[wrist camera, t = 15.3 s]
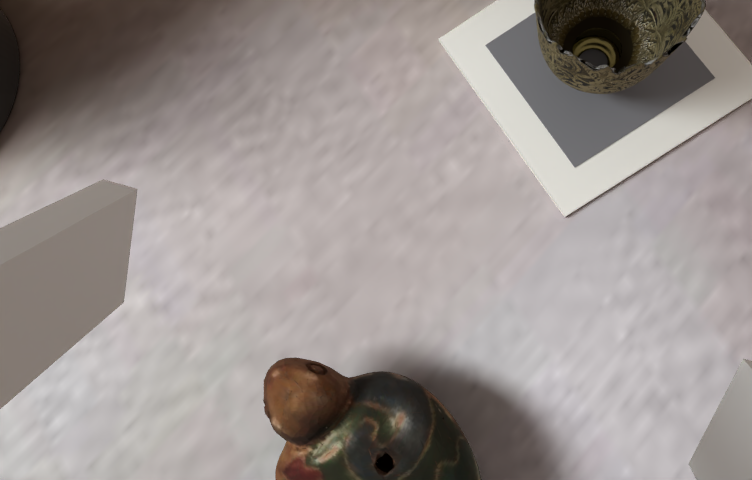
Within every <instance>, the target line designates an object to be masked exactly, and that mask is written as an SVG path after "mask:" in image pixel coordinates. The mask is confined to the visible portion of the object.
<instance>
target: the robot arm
mask: <svg viewBox="0 0 752 480" xmlns="http://www.w3.org/2000/svg"><path fill="white" fill-rule="evenodd" d="M19 68H20V64H19V51H18V46H17V41H16V38H15V34H14V32H13V29H12V27H11V25H10V23H9V21H8V19H7V17H6V16H5V14H4V13H3V12H2V10H1V9H0V131H1V129H2V128H3V126H4V124H5V122H6V120H7V118H8V116H9V114H10V111H11V108H12V106H13V103H14V100H15V96H16V92H17V87H18V81H19ZM136 197H137V189H135V188H132V187H128V186H125V185H121V184H117V183H114V182H110V181H107V180H101V181H99V182H97V183H95V184H93V185H91V186H89V187H86V188H84V189H82V190H80V191H78V192H76V193H74V194H72V195H70V196H67V197H65V198H63V199H61V200H59V201H57V202H55V203H53V204H51V205H48V206H46V207H44V208H42V209H40V210H38V211H36V212H34V213H32V214H29V215H27V216H25V217H23V218H21V219H19V220H17V221H15V222H13V223H10V224H8V225H6V226H4V227H2V228H0V409H1V408H2V407H3V406H4V405H6V404H7V403H8V402H9V401H10V400H11V399H12V398H14V397H15V396H16V395H17V394H18V393H19V392H21V391H22V390H23V389H24V388H25V387H26V386H27V385H29V384H30V383H31V382H32V381H33V380H34V379H36V378H37V377H38V376H39V375H40V374H41V373H43V372H44V371H45V370H46V369H47V368H48V367H49V366H51V365H52V364H53V363H54V362H55V361H56V360H58V359H59V358H60V357H61V356H62V355H63V354H64V353H66V352H67V351H68V350H69V349H70V348H71V347H73V346H74V345H75V344H76V343H77V342H78V341H80V340H81V339H82V338H83V337H84V336H85V335H86V334H88V333H89V332H90V331H91V330H92V329H93V328H95V327H96V326H97V325H98V324H99V323H100V322H101V321H103V320H104V319H105V318H106V317H107V316H108V315H110V314H111V313H112V312H113V311H114V310H115V309H116V308H118V307H119V306H120V305H121V304H122V303H123V302H124V296H125V288H126V280H127V271H128V263H129V255H130V247H131V238H132V230H133V222H134V214H135V205H136ZM689 466H690V468H691V470H692V472H693V474H694V476H695V478H696V480H752V361H749V360H746V359H743V360H742V362H741V364H740V366H739V368H738V370H737V372H736V374H735V376H734V378H733V380H732V381H731V383H730V385H729V387H728V389H727V391H726V393H725V395H724V397H723V399H722V401H721V403H720V405H719V406H718V408H717V410H716V412H715V414H714V416H713V418H712V420H711V422H710V424H709V426H708V428H707V429H706V431H705V433H704V435H703V437H702V439H701V441H700V443H699V445H698V447H697V449H696V451H695V453H694V454H693V456H692V458H691V460H690V462H689Z"/></svg>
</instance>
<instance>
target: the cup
mask: <svg viewBox="0 0 752 480" xmlns="http://www.w3.org/2000/svg"><path fill="white" fill-rule="evenodd" d="M705 2H706V1H705V0H534V9H535V13H536V23H537V32H538V39H539V44H540V48H541V52H542V54H543V57H544V59H545V61H546V63H547V65H548V67H549V68H550V70H551V71H552V72H553V73H554V75H555V76H556V77H557V78H558V79H560V80H561V81H562V82H563V83H565V84H566V85H568V86H570V87H572V88H574V89H576V90H579V91H582V92H586V93H592V94H608V93H614V92H619V91H622V90H625V89H627V88H629V87H631V86H633V85H636V84H637V83H639V82H641V81H642V80H643V79H645V78H646V77H647V76H649V75H650V74H651V73H653V72H654V71H655V70H656V69H657V68H658V67H659V66H660V65H661V64H662V63H663V62H664V61H665V60H666V59H667V58H668V57H669V56H670V55H671V54H672V53H673V52H674V51H675V50H676V49H677V48H678V47H679V46H680V45H682V44H683V43H684V42H685V41H686V40H687V38H686V37H687V36H688V35H689V33H690V32H691V31H692V29H693V28H694V27H695V25H696V24H697V22H698V21H699V19H700V18H701V16H702V14H703V12H704V10H705V7H706V4H705ZM589 49H597V50H600V51H601V52H603V53H604V54H605V55H606V57H607V61H608V63H607V65H600V66H598V67H596V66H594V65H592V64H591V63H590V62H588V61H586V60H583V59H581V58H579V56H580V55H581V54H582V53H583V52H584V51H586V50H589Z"/></svg>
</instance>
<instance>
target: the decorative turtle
mask: <svg viewBox="0 0 752 480" xmlns="http://www.w3.org/2000/svg"><path fill="white" fill-rule="evenodd" d="M263 401H264V404H265V407H264V409H265V414H266V415H267V417H268V418H269V419H270V422H271V425H272V427H273V429H274V430H275V432H276V433H277V434H279V435H280V436H281V437H282V438H284V439H285V440H286V441H287V442H286V444H285V446H284V449H283V451H282V453H281V455H280V457H279V460H278V463H277V466H276V480H481V477H480V473H479V469H478V466H477V463H476V460H475V457H474V455H473V452H472V450H471V448H470V446H469V443H468V441H467V439H466V438H465V436H464V434H463V432H462V431H461V429H460V427H459V426H458V424H457V422H456V421H455V419H454V418H453V416H452V415H451V414H450V412H449V411H448V410H447V409H446V408H445V407H444V405H443V404H442V403H441V402H440V401H439V400H438V399H437V398H436V397H435V396H434V395H432V394H431V393H430V392H429V391H428V390H426V389H425V388H424V387H422V386H421V385H420V384H418V383H416V382H414V381H413V380H411V379H409V378H407V377H405V376H402V375H398V374H395V373H391V372H372V373H367V374H363V375H360V376H356V377H350V378H348V377H345V376H342V375H341V374H339V373H338V372H336V371H335V370H333V369H332V368H330V367H328V366H325V365H323V364H321V363H319V362H315V361H311V360H306V359H301V358H285V359H282V360H279V361H277V362H276V363H275V364H274V365H272V366H271V367H270V369H269V370H268V372H267V374H266V377H265V379H264V400H263ZM376 461H377V462H378V463H376Z"/></svg>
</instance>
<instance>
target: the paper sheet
mask: <svg viewBox="0 0 752 480" xmlns="http://www.w3.org/2000/svg"><path fill="white" fill-rule="evenodd" d="M686 38H687V40H686V41H685V42H684V43H683V44H682V45H680V46H679V47H678V48H677V49H676V50H675V51H674V52H673V53H672V54H671V55H670V56H669V57H668V58H667V59H666V60H665V61H664V62H663V63H662V64H661V65H660V66H659V67H658V68H657V69H656V70H655V71H654V72H653V73H651V74H650V75H649V76H647V77H646V78H645V79H643V80H642V81H641V82H639V83H637V84H636V85H633V86H631V87H629V88H627V89H625V90H622V91H619V92H614V93H608V94H592V93H586V92H582V91H579V90H576V89H574V88H572V87H570V86H568V85H566V84H565V83H563V82H562V81H561V80H560V79H558V78H557V77H556V76H555V75H554V73H553V72H552V71H551V70H550V68H549V67H548V65H547V63H546V61H545V59H544V57H543V54H542V52H541V48H540V44H539V39H538V32H537V23H536V13H535V9H534V0H497V1H495V2H494V3H492V4H491V5H489V6H488V7H486V8H485V9H483V10H482V11H480V12H478V13H477V14H475V15H474V16H472V17H471V18H469V19H468V20H466V21H465V22H463V23H462V24H460V25H459V26H457V27H456V28H454V29H453V30H451V31H450V32H448V33H447V34H445V35H444V36H442V37H441V38H439V42H440V43H441V45H442V46H443V48H444V49H445V50H446V52H447V53H448V55H449V56H450V58H451V59H452V60H453V62H454V63H455V65H456V66H457V67H458V69H459V70H460V72H461V73H462V74H463V76H464V77H465V79H466V80H467V81H468V83H469V84H470V86H471V87H472V88H473V90H474V91H475V93H476V94H477V95H478V97H479V98H480V100H481V101H482V102H483V104H484V105H485V107H486V108H487V109H488V111H489V112H490V114H491V115H492V117H493V118H494V119H495V121H496V122H497V124H498V125H499V126H500V128H501V129H502V131H503V132H504V133H505V135H506V136H507V138H508V139H509V140H510V142H511V143H512V145H513V146H514V147H515V149H516V150H517V152H518V153H519V154H520V156H521V157H522V159H523V160H524V161H525V163H526V164H527V166H528V167H529V169H530V170H531V171H532V173H533V174H534V176H535V177H536V178H537V180H538V181H539V183H540V184H541V185H542V187H543V188H544V190H545V191H546V192H547V194H548V195H549V197H550V198H551V199H552V201H553V202H554V204H555V205H556V206H557V208H558V209H559V211H560V212H561V213H562V215H563V216H564V218H565V217H566V216H568V215H569V214H571V213H573V212H574V211H576V210H577V209H579V208H580V207H582V206H584V205H585V204H587V203H588V202H590V201H591V200H593V199H595V198H596V197H598V196H599V195H601V194H602V193H604V192H606V191H607V190H609V189H610V188H612V187H613V186H615V185H617V184H618V183H620V182H621V181H623V180H624V179H626V178H628V177H629V176H631V175H632V174H634V173H636V172H637V171H639V170H640V169H642V168H643V167H645V166H647V165H648V164H650V163H651V162H653V161H654V160H656V159H658V158H659V157H661V156H662V155H664V154H665V153H667V152H669V151H670V150H672V149H673V148H675V147H676V146H678V145H680V144H681V143H683V142H684V141H686V140H687V139H689V138H691V137H692V136H694V135H695V134H697V133H699V132H700V131H702V130H703V129H705V128H706V127H708V126H710V125H711V124H713V123H714V122H716V121H717V120H719V119H721V118H722V117H724V116H725V115H727V114H728V113H730V112H732V111H733V110H735V109H736V108H738V107H739V106H741V105H743V104H744V103H746V102H747V101H749V100H750V99H752V64H751V63H750V62H749V61H748V59H747V58H746V57H745V56H744V55H743V53H742V52H741V51H740V50H739V49H738V48H737V46H736V45H735V44H734V43H733V42H732V40H731V39H730V38H729V37H728V36H727V35H726V33H725V32H724V31H723V30H722V29H721V27H720V26H719V25H718V24H717V23H716V22H715V20H714V19H713V18H712V17H711V16H710V14H709V13H708V12H707V11H706V10H704V12H703V14H702V16H701V18H700V19H699V21H698V22H697V24H696V25H695V27H694V28H693V29H692V31H691V32H690V33H689V35H688V36H687V37H686ZM579 58H581V59H583V60H586V61H588V62H590V63H591V64H592V65H594V66H596V67H598V66H600V65H607V63H608V61H607V57H606V55H605V54H604V53H603V52H601V51H600V50H597V49H589V50H586V51H584V52H583V53H582V54H581V55H580V56H579Z"/></svg>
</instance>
